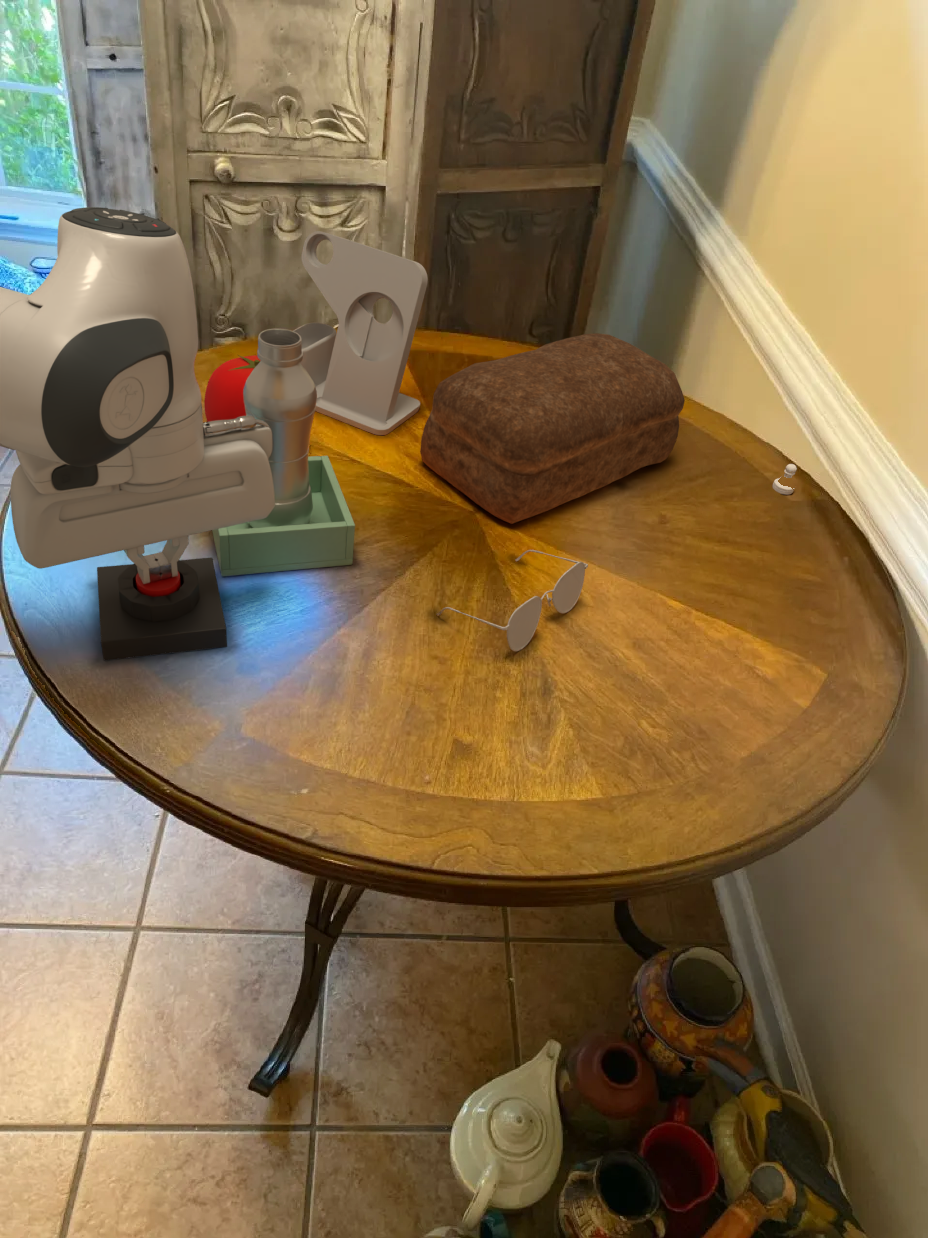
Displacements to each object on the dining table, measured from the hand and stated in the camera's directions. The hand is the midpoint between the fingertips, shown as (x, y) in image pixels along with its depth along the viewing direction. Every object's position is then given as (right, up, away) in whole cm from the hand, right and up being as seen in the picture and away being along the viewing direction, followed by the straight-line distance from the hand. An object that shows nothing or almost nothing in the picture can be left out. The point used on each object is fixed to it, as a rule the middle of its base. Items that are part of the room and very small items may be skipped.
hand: (158, 576), depth 78 cm
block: (-1, -3, +3) cm, 4 cm away
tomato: (+2, +15, +26) cm, 30 cm away
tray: (+7, +5, +14) cm, 17 cm away
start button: (0, -1, +1) cm, 2 cm away
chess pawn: (+65, +12, +35) cm, 75 cm away
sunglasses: (+31, -3, +11) cm, 33 cm away
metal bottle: (+8, +5, +14) cm, 17 cm away
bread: (+36, +15, +32) cm, 51 cm away
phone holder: (+11, +24, +37) cm, 46 cm away
